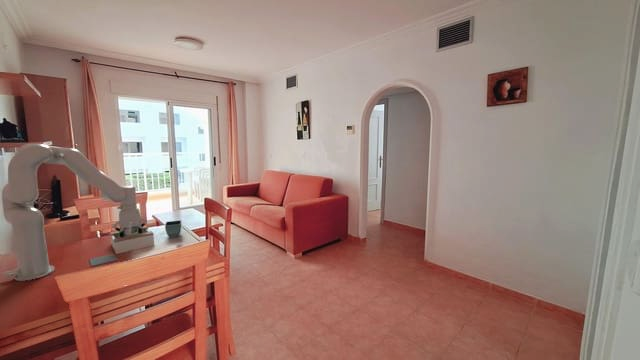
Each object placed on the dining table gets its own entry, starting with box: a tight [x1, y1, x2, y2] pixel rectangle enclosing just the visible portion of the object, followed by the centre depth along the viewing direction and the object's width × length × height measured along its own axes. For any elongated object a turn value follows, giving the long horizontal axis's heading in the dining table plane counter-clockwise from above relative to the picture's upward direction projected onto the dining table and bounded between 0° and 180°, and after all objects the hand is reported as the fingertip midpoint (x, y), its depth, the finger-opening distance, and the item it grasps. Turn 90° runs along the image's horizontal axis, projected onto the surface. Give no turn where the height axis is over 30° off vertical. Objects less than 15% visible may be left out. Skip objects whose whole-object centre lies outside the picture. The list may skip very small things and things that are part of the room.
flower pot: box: [164, 219, 182, 239], centre depth 171 cm, size 9×9×9 cm
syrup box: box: [123, 222, 139, 237], centre depth 155 cm, size 6×6×14 cm
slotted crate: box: [109, 225, 155, 255], centre depth 156 cm, size 18×18×8 cm
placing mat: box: [89, 253, 118, 267], centre depth 136 cm, size 10×10×1 cm
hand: (131, 236), depth 156 cm, fingers closed on syrup box, 7 cm apart
